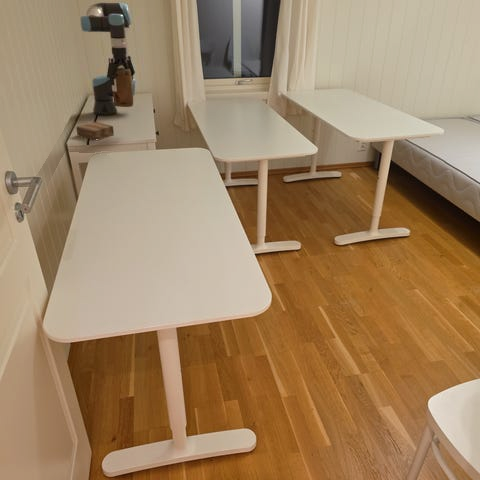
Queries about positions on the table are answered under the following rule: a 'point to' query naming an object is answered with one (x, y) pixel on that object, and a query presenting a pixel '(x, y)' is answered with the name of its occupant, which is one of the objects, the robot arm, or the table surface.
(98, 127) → the walnut base
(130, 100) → the block
